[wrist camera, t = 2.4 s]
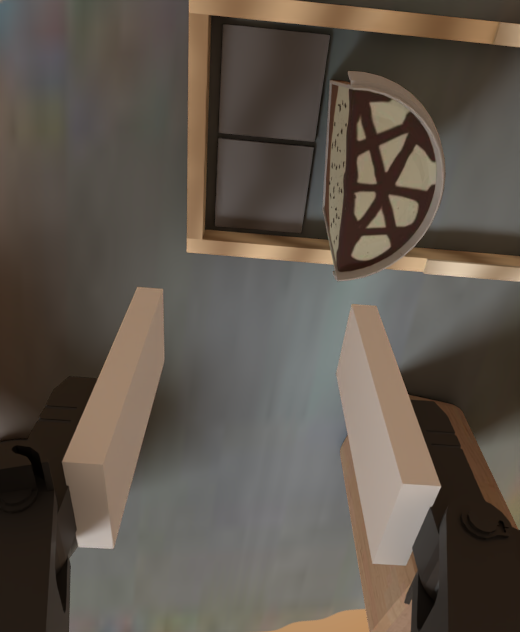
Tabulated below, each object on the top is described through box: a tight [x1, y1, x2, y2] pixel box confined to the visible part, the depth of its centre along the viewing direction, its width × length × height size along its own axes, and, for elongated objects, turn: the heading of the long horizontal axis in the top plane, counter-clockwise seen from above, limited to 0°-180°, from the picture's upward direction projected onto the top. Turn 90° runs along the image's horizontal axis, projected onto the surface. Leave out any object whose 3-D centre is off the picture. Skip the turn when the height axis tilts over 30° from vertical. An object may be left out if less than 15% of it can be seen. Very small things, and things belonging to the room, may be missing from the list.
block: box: [340, 394, 518, 632], centre depth 44 cm, size 10×10×20 cm
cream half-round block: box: [323, 71, 445, 281], centre depth 32 cm, size 12×6×10 cm, turn 1°
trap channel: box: [187, 0, 520, 282], centre depth 36 cm, size 30×17×2 cm, turn 85°
